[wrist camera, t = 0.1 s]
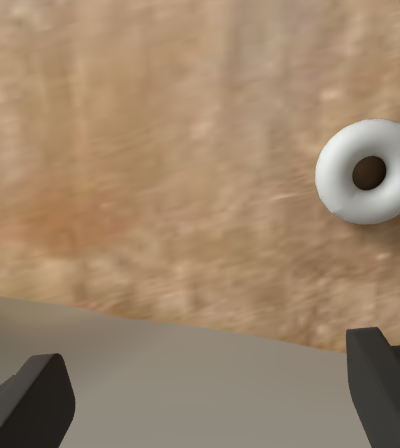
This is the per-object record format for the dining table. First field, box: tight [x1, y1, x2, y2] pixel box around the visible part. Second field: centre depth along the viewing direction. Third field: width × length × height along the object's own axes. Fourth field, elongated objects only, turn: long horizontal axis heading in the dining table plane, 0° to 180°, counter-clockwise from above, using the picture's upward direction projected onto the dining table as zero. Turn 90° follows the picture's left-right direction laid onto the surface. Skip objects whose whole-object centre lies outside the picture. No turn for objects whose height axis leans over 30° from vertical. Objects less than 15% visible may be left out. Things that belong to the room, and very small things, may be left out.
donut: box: [315, 119, 400, 225], centre depth 35 cm, size 10×3×10 cm
